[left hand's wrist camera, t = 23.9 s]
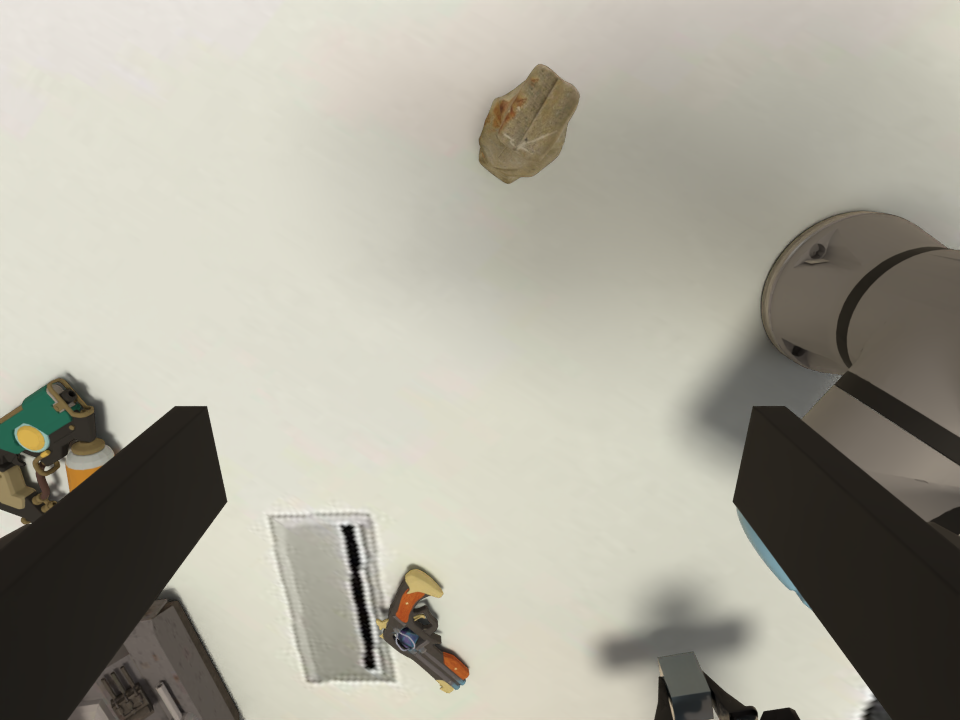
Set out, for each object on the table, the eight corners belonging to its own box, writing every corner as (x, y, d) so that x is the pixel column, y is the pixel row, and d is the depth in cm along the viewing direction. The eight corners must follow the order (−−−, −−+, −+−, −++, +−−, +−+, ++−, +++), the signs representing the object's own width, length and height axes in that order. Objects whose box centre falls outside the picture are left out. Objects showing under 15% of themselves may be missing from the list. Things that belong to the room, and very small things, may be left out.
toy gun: (416, 575, 60) (349, 622, 61) (509, 661, 67) (448, 702, 68) (416, 559, 62) (351, 604, 63) (506, 643, 69) (446, 683, 70)
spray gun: (27, 514, 60) (-46, 399, 56) (153, 490, 58) (87, 368, 53) (-7, 539, 56) (-90, 417, 52) (126, 514, 54) (52, 384, 49)
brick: (657, 657, 62) (671, 697, 57) (693, 651, 62) (710, 691, 57) (661, 683, 64) (675, 724, 59) (696, 678, 63) (713, 719, 59)
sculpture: (568, 122, 45) (608, 107, 31) (516, 192, 47) (531, 208, 33) (515, 76, 43) (532, 37, 29) (463, 150, 45) (456, 147, 31)
